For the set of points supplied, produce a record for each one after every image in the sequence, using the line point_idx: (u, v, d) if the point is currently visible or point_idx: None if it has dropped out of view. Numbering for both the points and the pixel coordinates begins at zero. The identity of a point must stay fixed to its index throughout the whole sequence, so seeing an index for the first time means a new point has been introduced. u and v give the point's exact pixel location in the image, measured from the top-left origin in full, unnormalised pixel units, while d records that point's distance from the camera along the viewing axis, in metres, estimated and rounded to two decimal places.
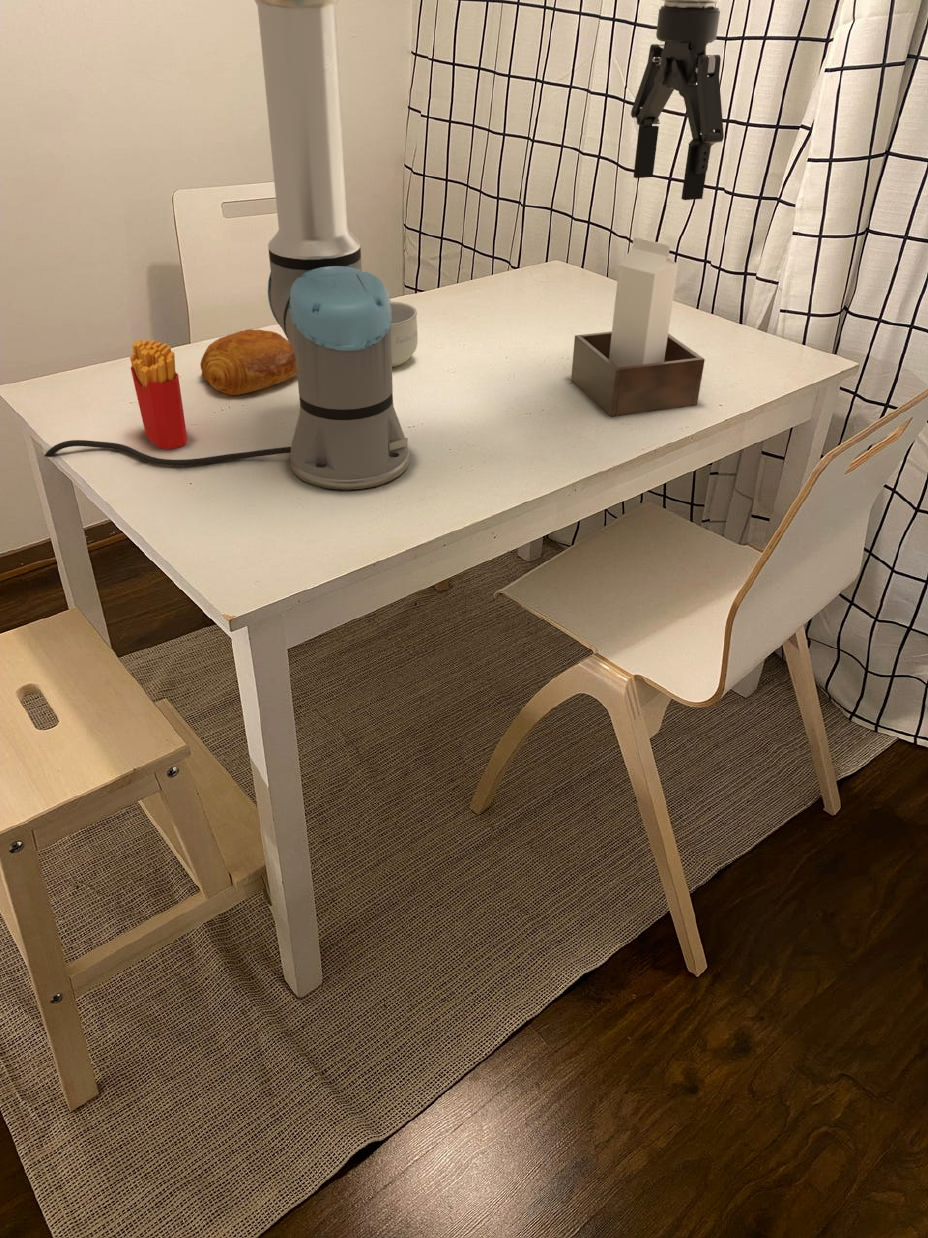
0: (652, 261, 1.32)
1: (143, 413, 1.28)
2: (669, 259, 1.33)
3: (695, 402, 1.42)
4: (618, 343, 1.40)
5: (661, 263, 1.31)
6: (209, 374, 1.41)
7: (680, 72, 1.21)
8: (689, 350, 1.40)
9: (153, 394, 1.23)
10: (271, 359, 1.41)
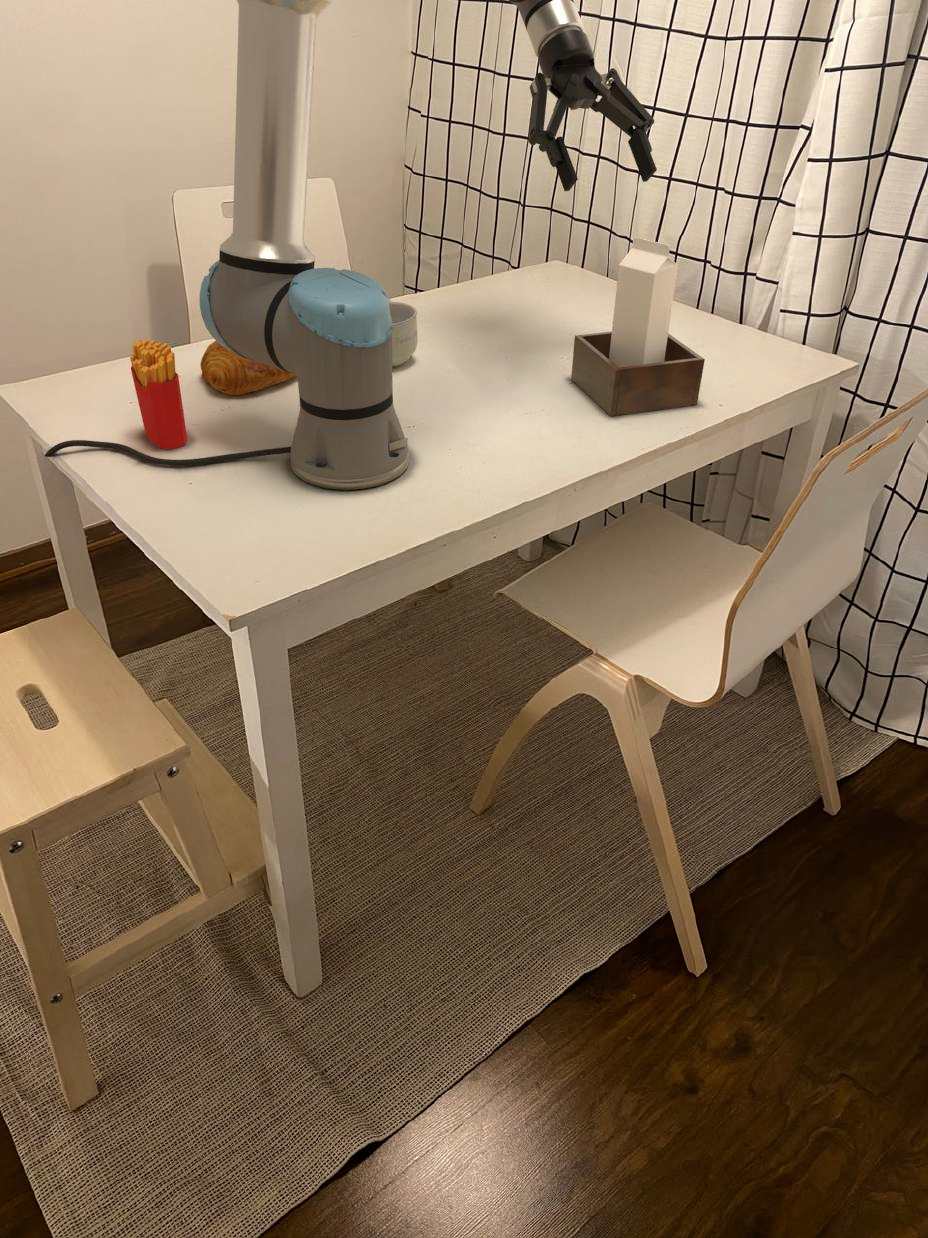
0: (653, 261, 1.32)
1: (143, 413, 1.28)
2: (669, 259, 1.33)
3: (695, 402, 1.42)
4: (618, 343, 1.40)
5: (661, 263, 1.31)
6: (209, 374, 1.41)
7: (597, 81, 1.37)
8: (689, 350, 1.40)
9: (153, 394, 1.23)
10: None
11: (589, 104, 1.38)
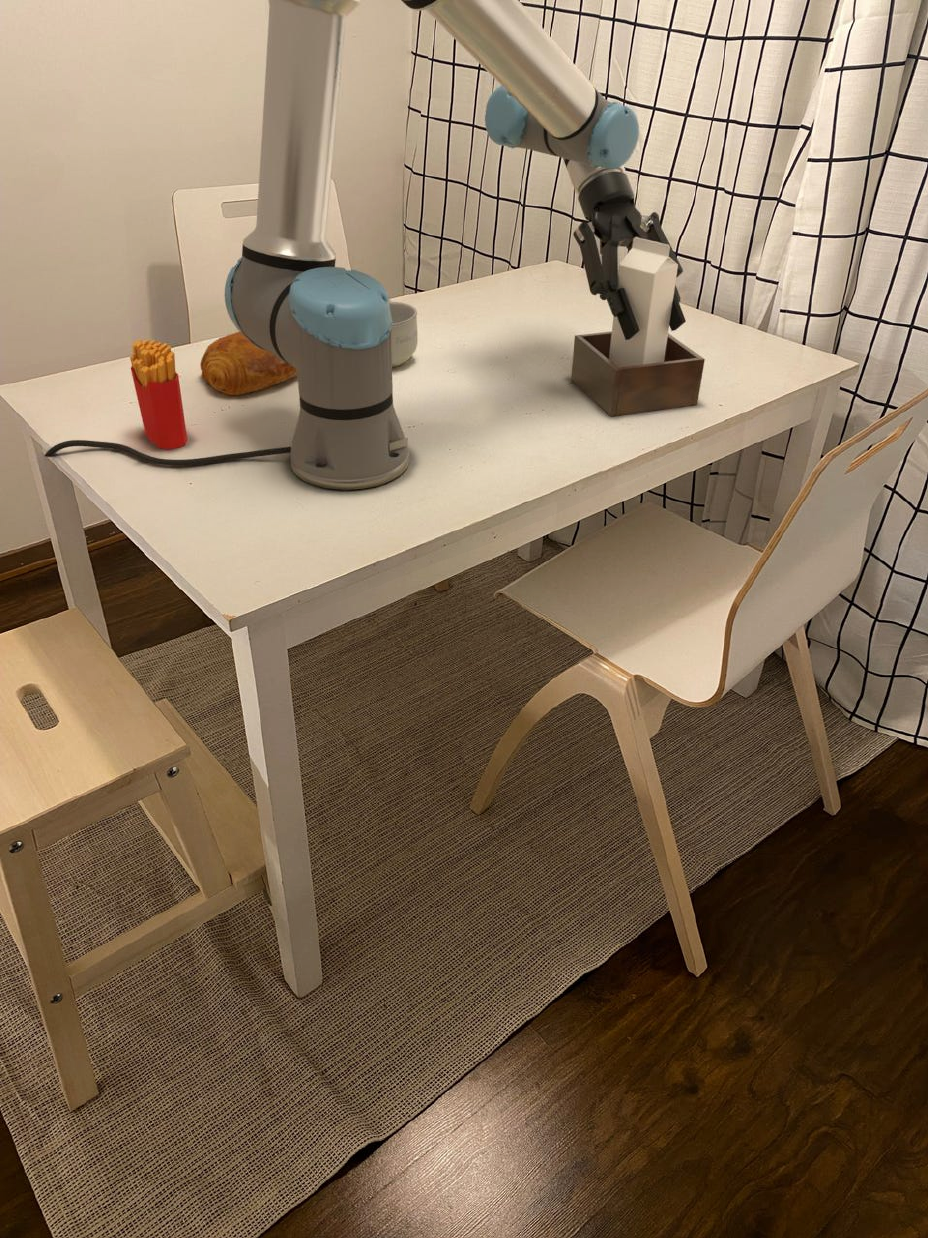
0: (653, 261, 1.32)
1: (143, 413, 1.28)
2: (669, 259, 1.33)
3: (695, 402, 1.42)
4: (618, 343, 1.40)
5: (661, 263, 1.31)
6: (209, 374, 1.41)
7: (637, 223, 1.37)
8: (689, 350, 1.40)
9: (153, 394, 1.23)
10: (271, 359, 1.41)
11: (629, 243, 1.38)
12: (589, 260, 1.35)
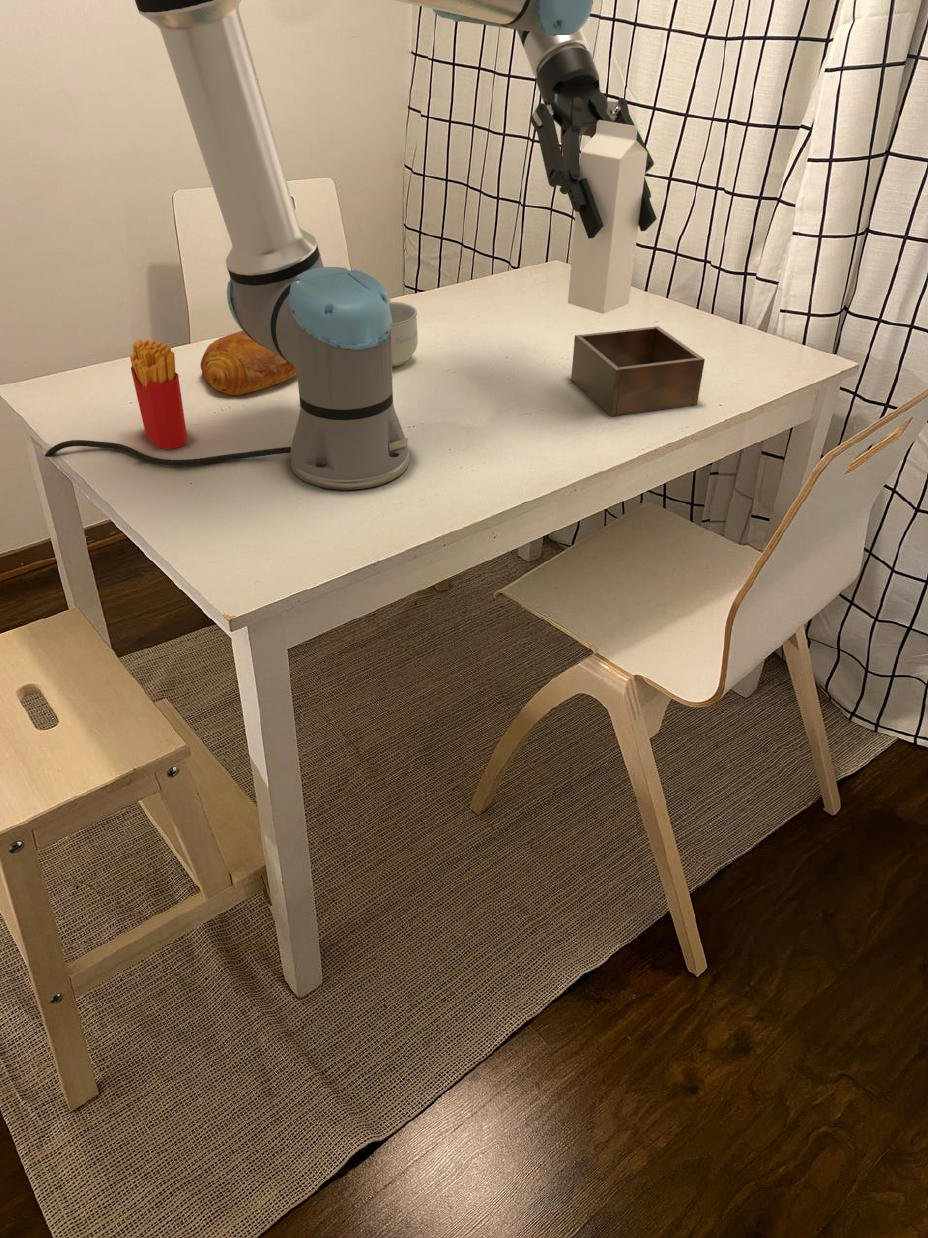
0: (618, 145, 1.17)
1: (143, 413, 1.28)
2: (637, 144, 1.17)
3: (695, 402, 1.42)
4: (581, 245, 1.24)
5: (628, 147, 1.16)
6: (209, 374, 1.41)
7: (602, 108, 1.22)
8: (689, 350, 1.40)
9: (153, 394, 1.23)
10: (271, 359, 1.41)
11: (593, 131, 1.23)
12: (547, 147, 1.19)
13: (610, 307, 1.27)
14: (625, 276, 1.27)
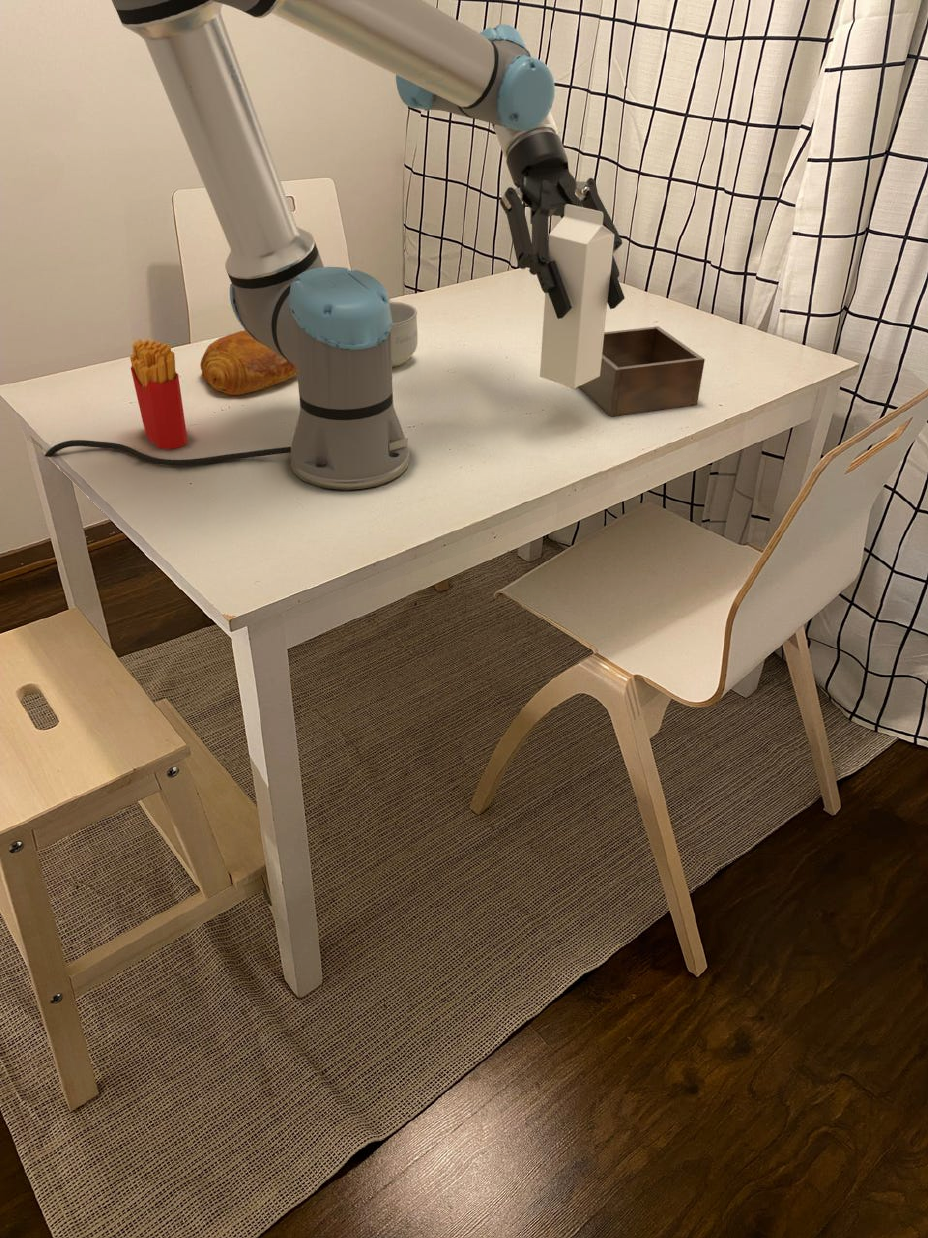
0: (585, 230, 1.19)
1: (143, 413, 1.28)
2: (604, 228, 1.20)
3: (695, 402, 1.42)
4: (551, 322, 1.27)
5: (594, 232, 1.18)
6: (209, 374, 1.41)
7: (571, 189, 1.24)
8: (689, 350, 1.40)
9: (153, 394, 1.23)
10: (271, 359, 1.41)
11: (563, 211, 1.25)
12: (516, 230, 1.22)
13: (581, 381, 1.30)
14: (595, 351, 1.29)
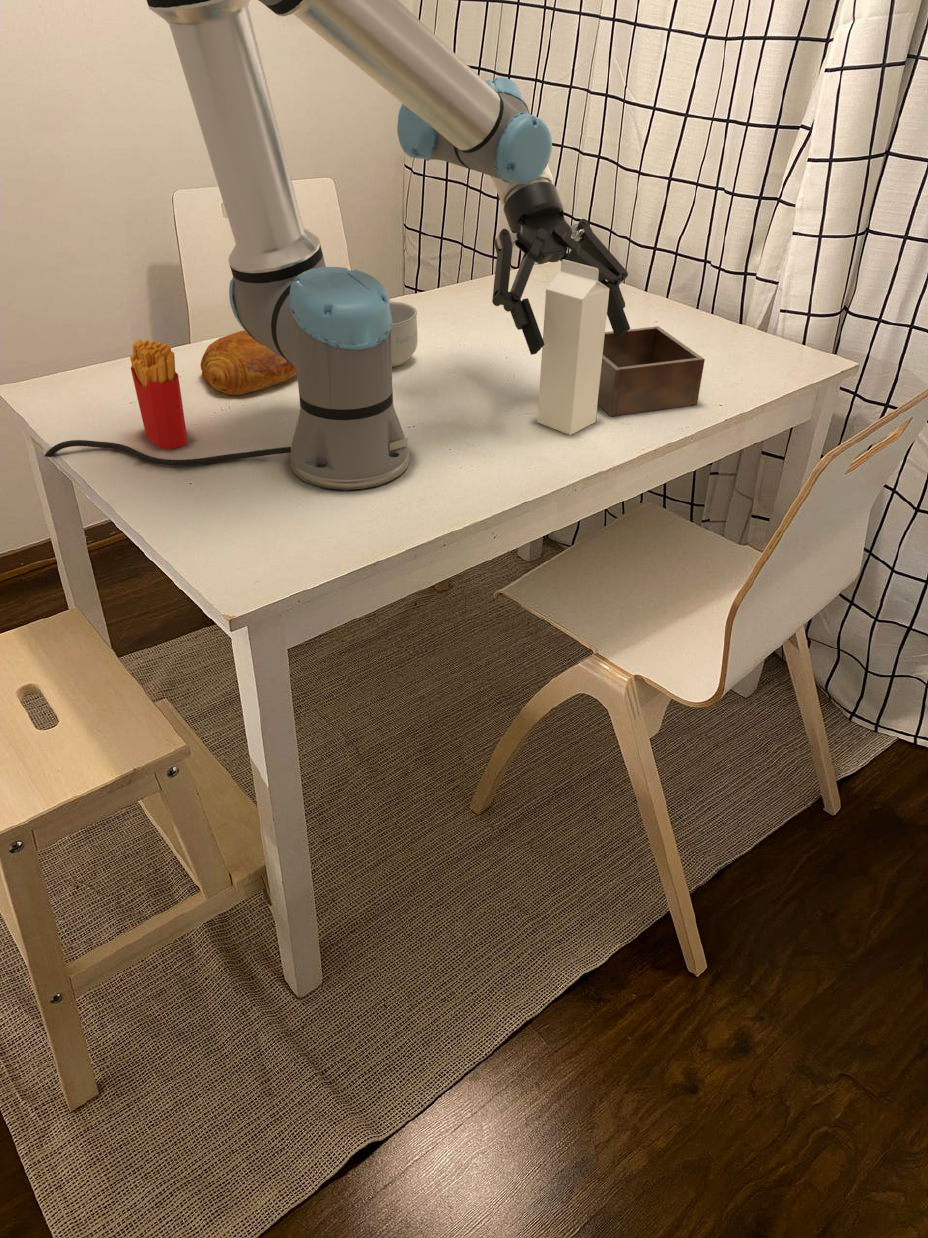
0: (581, 285, 1.23)
1: (143, 413, 1.28)
2: (599, 283, 1.24)
3: (695, 402, 1.42)
4: (548, 372, 1.31)
5: (590, 288, 1.22)
6: (209, 374, 1.41)
7: (567, 235, 1.28)
8: (689, 350, 1.40)
9: (153, 394, 1.23)
10: (271, 359, 1.41)
11: (558, 258, 1.29)
12: (499, 268, 1.25)
13: (577, 428, 1.34)
14: (591, 399, 1.33)
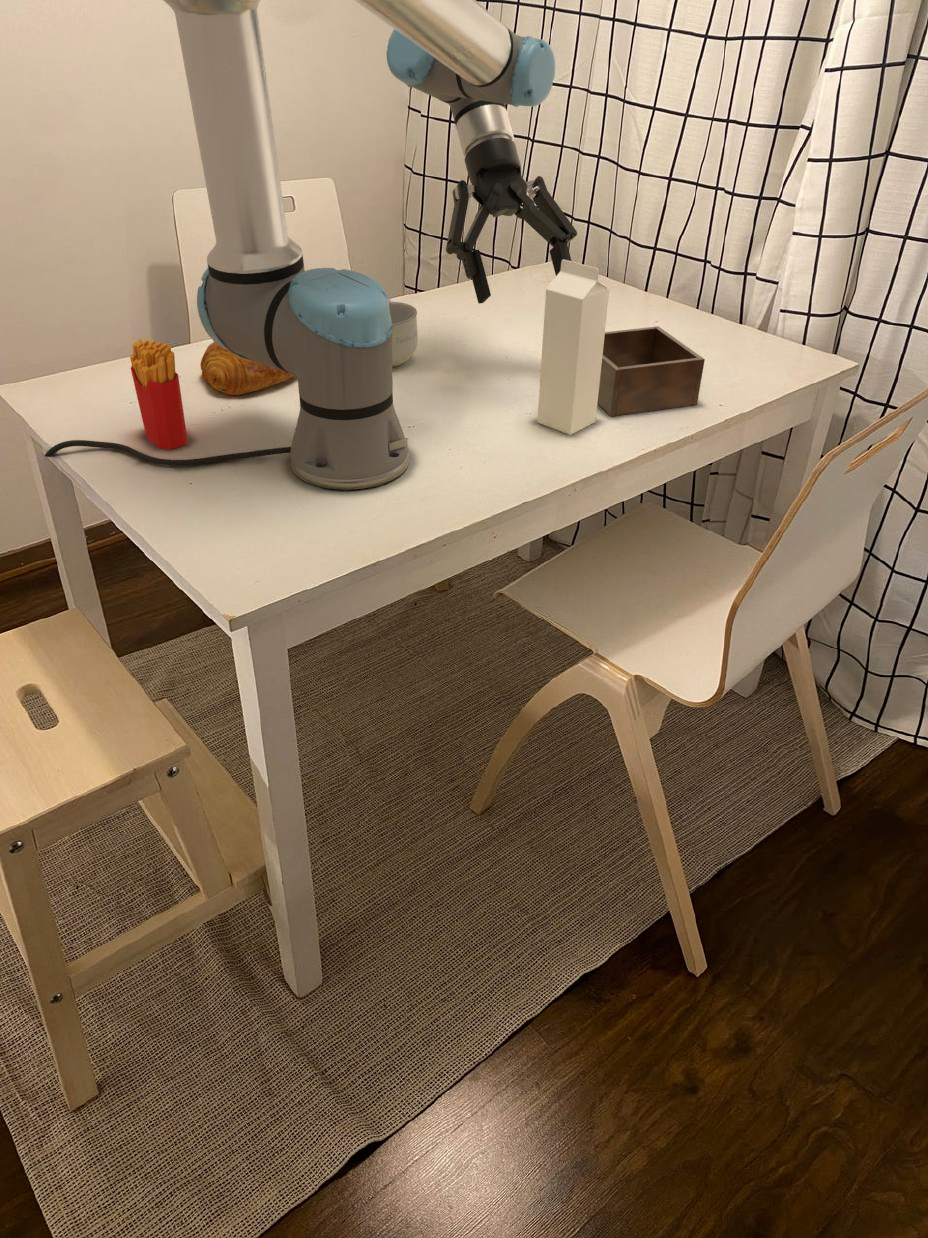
0: (581, 285, 1.23)
1: (143, 413, 1.28)
2: (599, 283, 1.24)
3: (695, 402, 1.42)
4: (548, 372, 1.31)
5: (590, 288, 1.22)
6: (209, 374, 1.41)
7: (522, 191, 1.36)
8: (689, 350, 1.40)
9: (153, 394, 1.23)
10: None
11: (512, 212, 1.37)
12: (454, 218, 1.33)
13: (577, 428, 1.34)
14: (591, 399, 1.33)
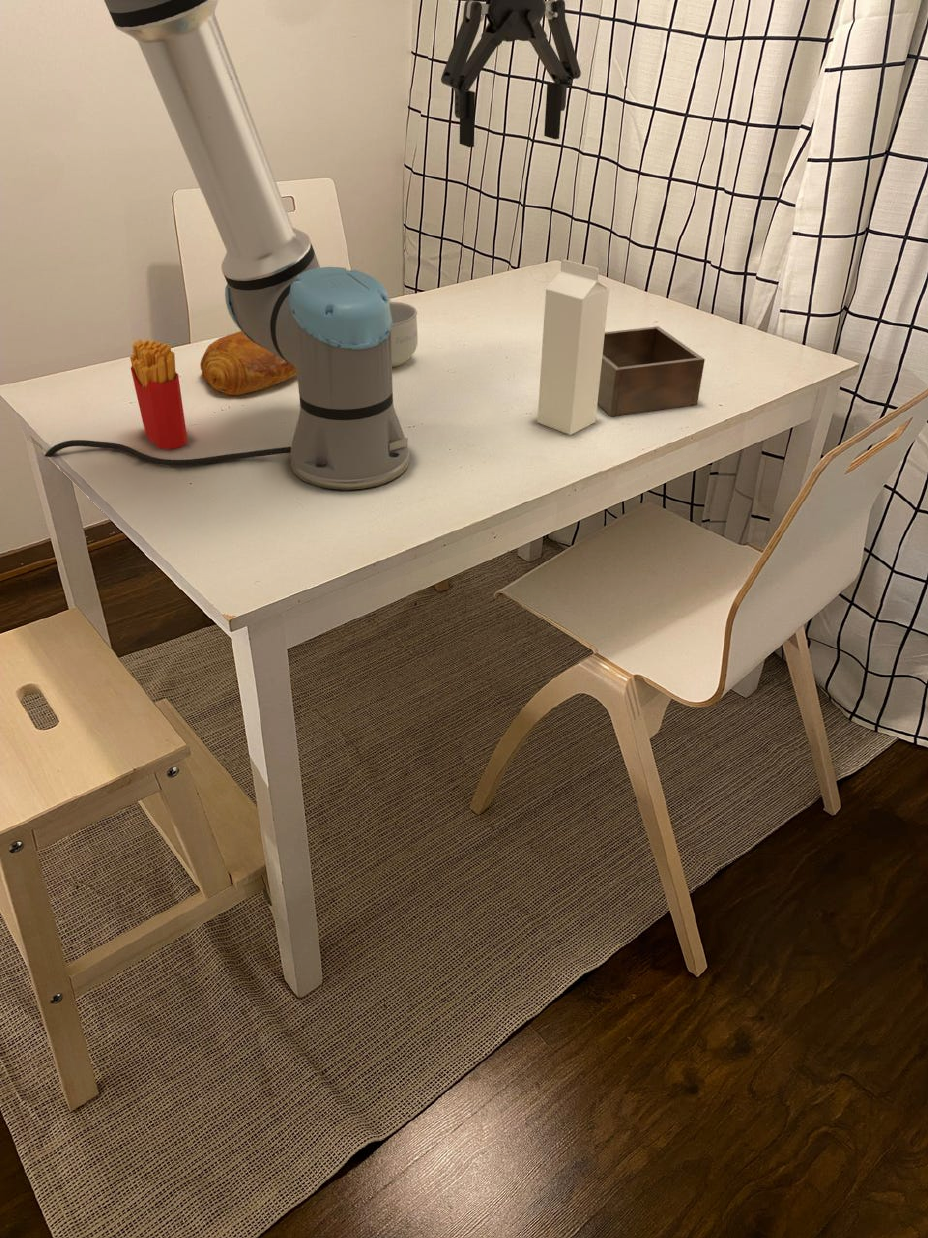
0: (581, 285, 1.23)
1: (143, 413, 1.28)
2: (599, 283, 1.24)
3: (695, 402, 1.42)
4: (548, 372, 1.31)
5: (590, 288, 1.22)
6: (209, 374, 1.41)
7: (538, 21, 1.24)
8: (689, 350, 1.40)
9: (153, 394, 1.23)
10: (271, 359, 1.41)
11: None
12: (458, 47, 1.22)
13: (577, 428, 1.34)
14: (591, 399, 1.33)
